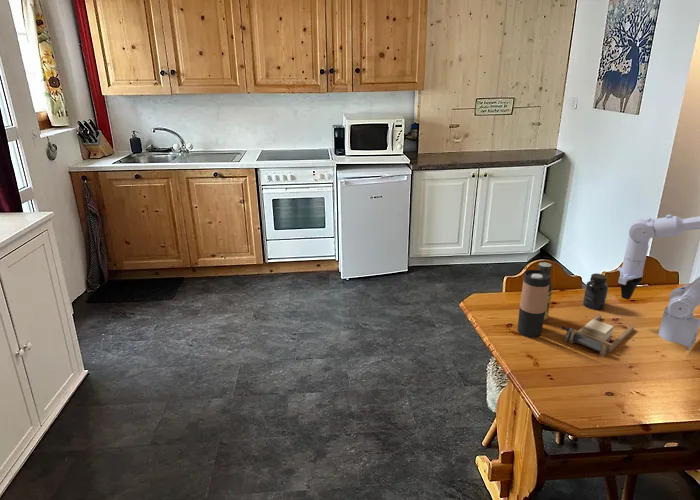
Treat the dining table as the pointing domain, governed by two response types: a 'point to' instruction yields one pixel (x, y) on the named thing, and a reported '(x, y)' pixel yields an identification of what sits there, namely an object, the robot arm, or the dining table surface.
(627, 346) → the dining table surface
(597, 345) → the winch
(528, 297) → the travel mug
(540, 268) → the sauce bottle
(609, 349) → the bay
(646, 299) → the dining table surface
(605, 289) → the supplement bottle
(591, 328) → the red striped cream box
